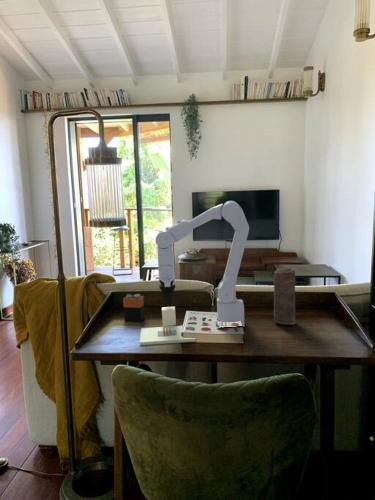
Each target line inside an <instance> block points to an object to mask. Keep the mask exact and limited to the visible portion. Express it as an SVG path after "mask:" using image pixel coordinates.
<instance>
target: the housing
mask: <svg viewBox="0 0 375 500" xmlns="http://www.w3.org/2000/svg"><path fill="white" fill-rule="evenodd" d="M161 318H162V321H161V322H162V327H163V326H165V327H166V326H168V327H169V325H170V326H177V320H176V306H164V307H161Z"/></svg>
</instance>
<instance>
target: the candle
mask: <svg viewBox="0 0 375 500" xmlns="http://www.w3.org/2000/svg"><path fill="white" fill-rule="evenodd" d="M273 321H274V322H275V323H277V324H280V325H291V326H292V325H296V270H295V269H294V268H285V267H284V268H282V267H281V268H278V269H277V270H274V272H273Z"/></svg>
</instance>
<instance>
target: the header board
mask: <svg viewBox="0 0 375 500" xmlns="http://www.w3.org/2000/svg"><path fill="white" fill-rule="evenodd" d="M182 326H183V325H173V326H170V325H169V326H163V325H162V326H159V327H158V326H156V327H141V328H140V336H139V337H140V338H139V346H147V345H162V344H163V345H164V344H178V343H191V342H196V337H195V338H183V337H182V336H181V330H182Z"/></svg>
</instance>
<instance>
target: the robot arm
mask: <svg viewBox="0 0 375 500" xmlns="http://www.w3.org/2000/svg"><path fill="white" fill-rule="evenodd" d="M245 215H246V214H245V213H244V210H243V208H242V207H241V206H240V204H239V203H237V202H236V201H234V200H227V201H226V202H224V204H223V203H220V204H218V205H216V206H213V207H211V208H209V209H207V210H205V211H204V212H202V213H201V214H199V215H197V216H195V217H194V218H192V219H190V220H186V219H182V220H181V219H179V220H177V221H176V223H175V224H173V225H170V226H167V227H165V229H164V230H161V231H160V232H159V233H158V234H157V235H156V236H155V244H156V246H157V271H158V275H156V276H155V280H158V282H160V284H159V286H158V287H159V290H160V291H161V293H162V296H163V301H164V304H165V305H172V300H173V294H174V292H175V288H176V284H173V283H174V281H175V279H176V275H175V274H176V273H175V254H174V247H173V246H174V243H177V242H180V241H181V240H183V239H185V238H187V237H188V236H191V235H192V234H193V230H194V229H195V228H197V227H198V228H199V227H200V226H201V225H204V224H205V223H206V224H207V223H208V222H209V221H212V220H222V218H223V219H224V220H225V221H226V222H228V223H229V224H230V225H231V226H232V228H233V230H234V234H233V238H232V243H231V246H230V251H229V253H228V258H227V263H226V266H225V270H224V273H223V277H222V279H221V280H220V282H219V284H218V285H217V288H218V289H217V290H218V291H217V299H216V308H217V309H216V310H217V311H216V312H217V314H216V315H217V316H216V317H217V318H218V320H220V321H222V322H236V321H237V322H238V321H241V323H242V325H243V327H245V326H246V325H245V305H244V300H243V299H238V297H236V296H237V294H236V284H237V279H238V275H239V270H240V266H241V263H242V259H243V255H244V253H245V252H244V251H245V247H246V244H247V240H248V236H249V233H250V232H249V231H250V226H249V223H248V221H247V218H246V216H245ZM217 318H216V319H217ZM243 327H242V328H243Z"/></svg>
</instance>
